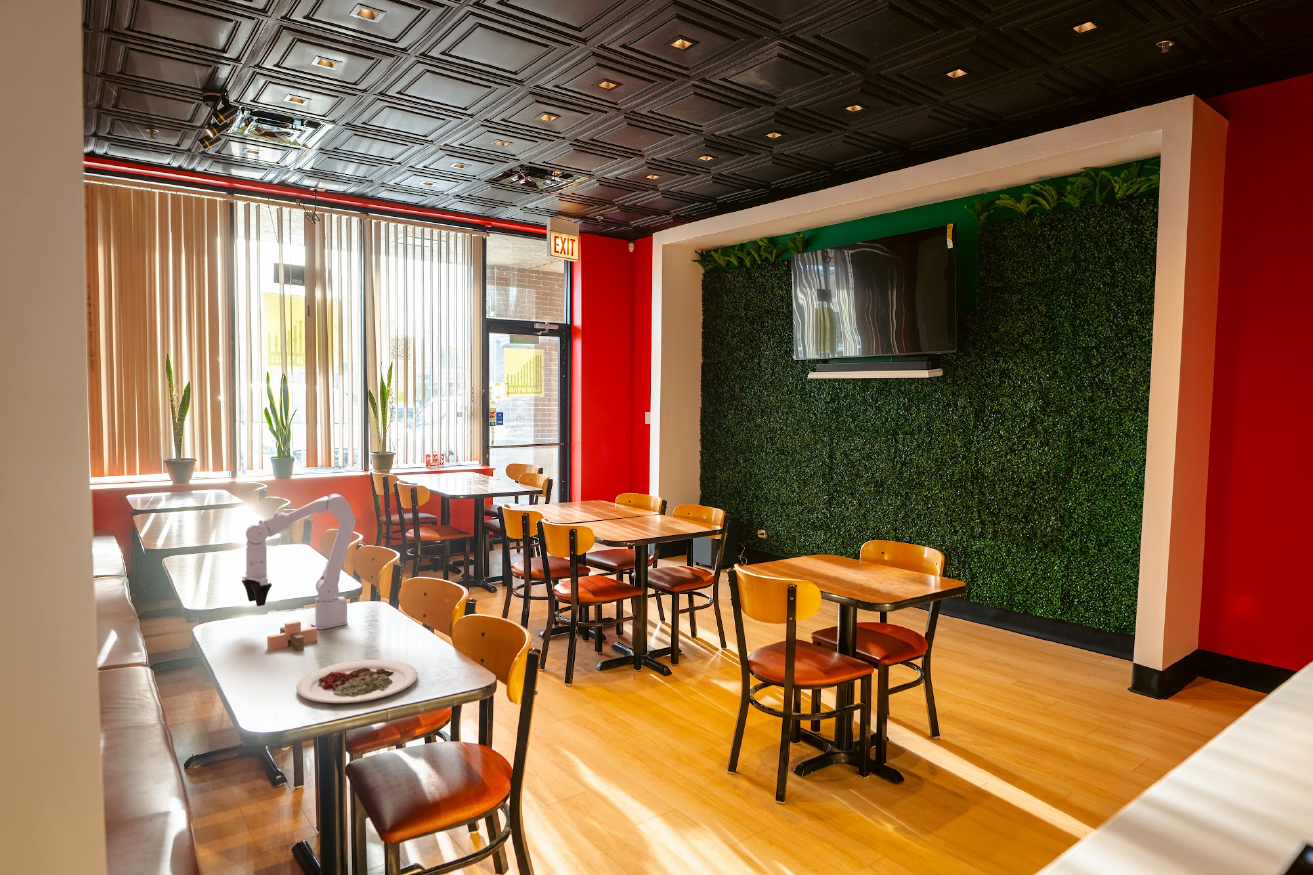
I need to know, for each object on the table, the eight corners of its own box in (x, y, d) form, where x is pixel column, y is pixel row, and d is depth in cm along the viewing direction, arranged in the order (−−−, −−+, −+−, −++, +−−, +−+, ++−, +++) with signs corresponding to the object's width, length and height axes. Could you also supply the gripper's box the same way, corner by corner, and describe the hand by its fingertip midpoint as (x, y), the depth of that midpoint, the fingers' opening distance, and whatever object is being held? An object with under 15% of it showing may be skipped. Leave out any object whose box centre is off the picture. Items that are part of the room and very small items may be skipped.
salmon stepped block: (314, 639, 235) (314, 617, 234) (317, 640, 233) (317, 618, 233) (267, 649, 225) (267, 626, 224) (269, 650, 223) (269, 627, 223)
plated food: (421, 699, 190) (421, 687, 190) (291, 715, 179) (291, 702, 179) (413, 661, 218) (413, 649, 218) (301, 672, 207) (301, 661, 207)
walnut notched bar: (286, 638, 234) (286, 626, 234) (303, 649, 225) (303, 636, 225) (280, 640, 233) (280, 627, 233) (297, 651, 223) (297, 638, 223)
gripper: (235, 559, 240) (235, 600, 241) (250, 567, 230) (250, 610, 231) (259, 556, 245) (259, 597, 246) (274, 563, 235) (274, 606, 236)
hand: (256, 603), depth 239 cm, fingers open, 7 cm apart
